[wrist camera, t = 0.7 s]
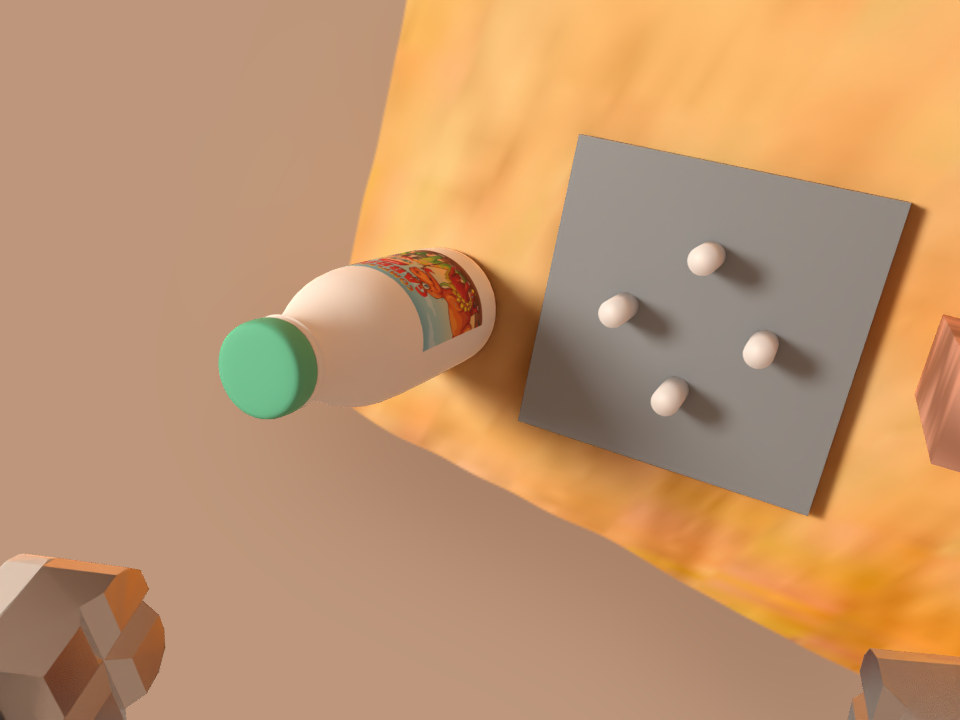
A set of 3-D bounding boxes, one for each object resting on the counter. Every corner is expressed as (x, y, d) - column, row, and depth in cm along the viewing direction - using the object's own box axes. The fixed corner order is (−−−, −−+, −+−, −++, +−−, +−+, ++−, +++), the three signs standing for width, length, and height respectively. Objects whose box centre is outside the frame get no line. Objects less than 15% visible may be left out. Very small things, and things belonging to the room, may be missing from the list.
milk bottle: (504, 362, 56) (339, 458, 39) (399, 362, 60) (200, 451, 42) (494, 242, 55) (317, 283, 37) (386, 249, 58) (175, 290, 40)
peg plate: (584, 134, 51) (563, 133, 48) (910, 202, 46) (915, 206, 42) (523, 416, 57) (500, 434, 53) (808, 509, 51) (804, 536, 47)
